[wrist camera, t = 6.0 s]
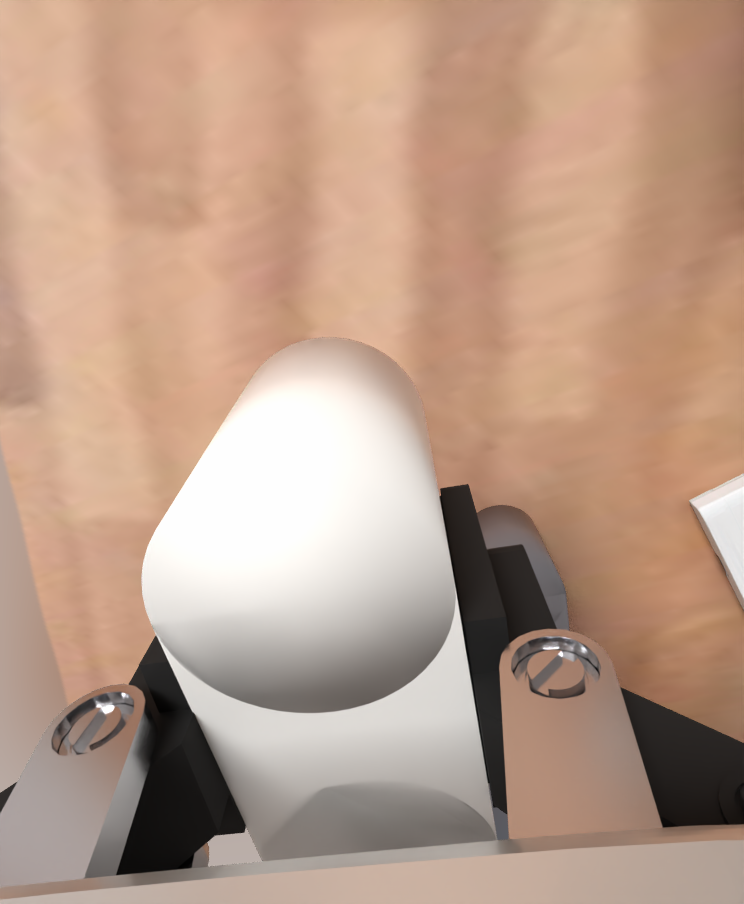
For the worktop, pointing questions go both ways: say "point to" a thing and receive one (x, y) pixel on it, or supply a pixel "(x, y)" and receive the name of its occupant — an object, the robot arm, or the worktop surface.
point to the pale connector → (324, 613)
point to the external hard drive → (725, 528)
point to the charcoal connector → (516, 529)
